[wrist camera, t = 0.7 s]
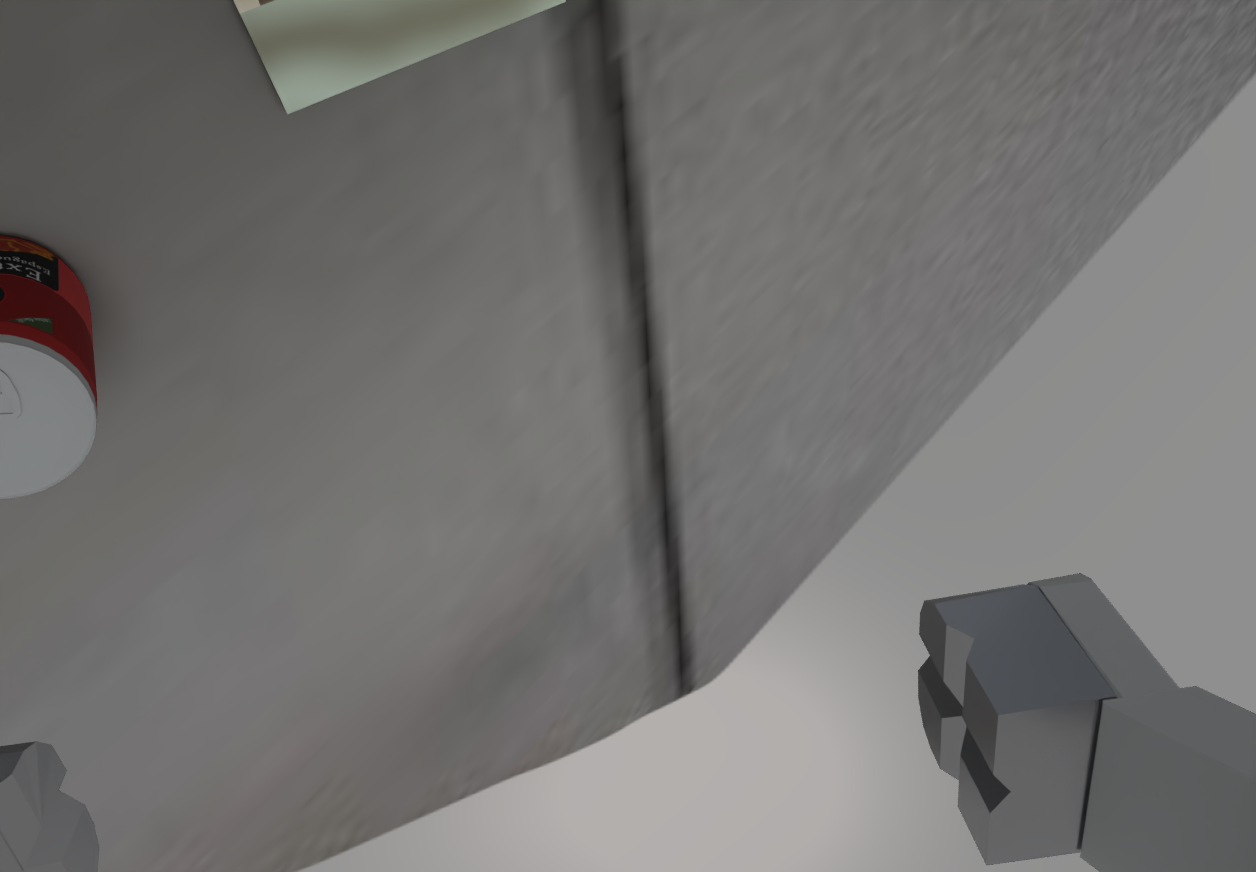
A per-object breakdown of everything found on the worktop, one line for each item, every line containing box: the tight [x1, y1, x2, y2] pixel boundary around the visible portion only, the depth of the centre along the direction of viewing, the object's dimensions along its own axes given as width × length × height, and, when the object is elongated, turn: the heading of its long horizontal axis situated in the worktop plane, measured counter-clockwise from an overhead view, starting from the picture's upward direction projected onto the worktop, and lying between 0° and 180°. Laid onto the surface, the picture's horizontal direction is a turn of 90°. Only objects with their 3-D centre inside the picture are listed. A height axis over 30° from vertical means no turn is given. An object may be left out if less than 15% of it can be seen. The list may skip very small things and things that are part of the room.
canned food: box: [0, 236, 97, 499], centre depth 50 cm, size 8×8×11 cm
